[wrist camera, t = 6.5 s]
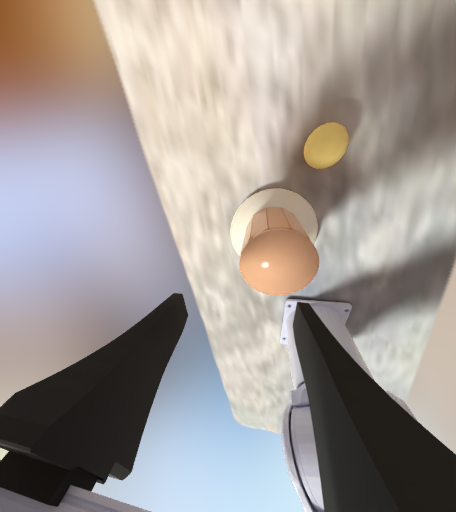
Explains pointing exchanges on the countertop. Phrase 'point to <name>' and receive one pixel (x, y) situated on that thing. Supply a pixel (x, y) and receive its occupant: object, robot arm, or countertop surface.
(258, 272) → the cup
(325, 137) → the ball
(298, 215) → the dish
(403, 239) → the countertop surface
